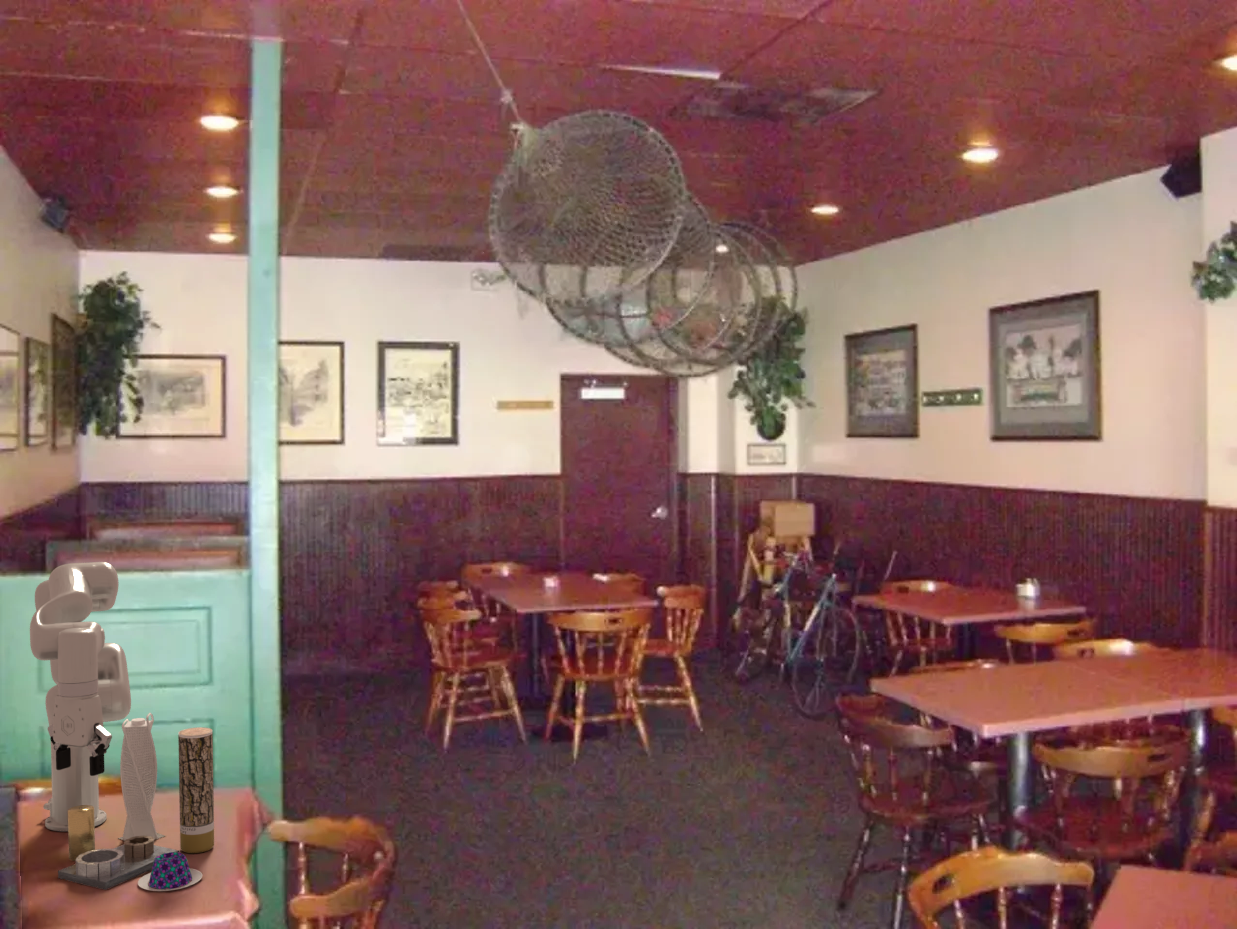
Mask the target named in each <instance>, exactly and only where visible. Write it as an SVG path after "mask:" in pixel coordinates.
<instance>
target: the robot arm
mask: <svg viewBox="0 0 1237 929" xmlns="http://www.w3.org/2000/svg"><path fill="white" fill-rule="evenodd" d="M119 584H120V583H119V576H118V572H117V570H116V569H115V567H114V566H113V565H112V564H111V563H108V562H107V561H96V562H76V563H75V562H73V563H65V564H61V565H59V566H57V567H56V568H54V569H53V570H52V571H51V573H50V575H49V576H48V579H46V580H44V581H42V582H40V583H39V584H38V585H37V587H36V589H35V591H34V604H35V605H34V606H35V612H34V614H33V615H32V617H31V619H30V620H31V621H30V624H29V641H30V644H29V645H30V651H31V653H32V655H33V657H35V659H37V660H39V661H50V662H49V663H50V664H49V665H50V671H51V672H50V673H51V678H52V680H53V682H54V683H55V685H54V686H52V687H51V688H49V689H48V691H47V692H46V695H45V703H44V704H45V710H46V716H47V721H48V726H47V732H48V734H49V737H50V738H49V739H50V759H51V760H50V766H51V795H52V796H51V798H49V799H48V801H47V802H46V803H44V804H43V810H47V811H49V816H48V817H47V818H46V819H45V820H44V826H45V828H46V829H48V830H50V831H54V832H68V809H70V808H72V807H75V806H80V805H91V806H93V807H94V828H95V827H97V826H100V825H102V824H103V823H104V822H105V821H106V820H107V812H106V811H104V810H103V809H100V802H99V798H100V797H99V796H100V792H99V775H101V774H104V772H105V754H106V753H107V750H108V749H109V748H110V744H111V741H112V739H113V735H112V734H111V733H110V732H109V731H108V730H106V728H104V723H109V722H116V721H120V720H123V719H125V718H127V716H128V715H130V712H131V709H132V698H131V697H132V696H131V687H130V679H129V671H128V670H129V669H128V664H127V663H128V662H127V657H126V654H125V651H124V648H123V647H122V646H121V645H120V644H118V643H114V642H106V636H105V630H104V628H102V626H101V625H100V623H98V622H96V621H85V620H86V619H87V618H89V616H90V615H91V613H93V612H105V611H109V610H111V609H112V608H113V607H114V606H115V604H116V601H117V596H118V594H119V593H118V592H119Z"/></svg>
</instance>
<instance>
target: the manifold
mask: <svg viewBox="0 0 1237 929" xmlns="http://www.w3.org/2000/svg"><path fill="white" fill-rule="evenodd" d="M123 842H124V844H122V845H119V846H115V847H113V848H97V849H95V850H92V851H88V852H85V853H83V854H80V855H79V856H78V857H77V858H76V861H75V864H71V865H69V866H67V867H65V868H64V867H63V868H62V869H59V870H58V871H57V874H58V875H57V879H59V878H60V879H59V880H63V879H65V880H64V881H67V880H68V882H71V881H72V883H76V884H81V885H85V886H89V887H92V888H97V889H100V890H104V891H106V890H108V889H111V888H113V887H116V886H118V885H119V884H122V883H125V882H127V881H129V880H132V879H134V878H136V877H138V876H140V875H143V874H146V873H148V872H151V871H152V867H153V862H154V859H155V858H156V857H157V856H160V855H161V854H164V853H170V852H176V853H178V852H179V853H180V850H178V849H173V848H169V847H164V846H160V845H155V840H154V837H151V836H135V837H131V838H129V839H126V840H125V841H123Z"/></svg>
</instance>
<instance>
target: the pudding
mask: <svg viewBox="0 0 1237 929" xmlns="http://www.w3.org/2000/svg"><path fill="white" fill-rule="evenodd" d="M202 878H203V873H202V872H201V871H200V870H198V869H195V868H190V865H189V863H188V859H187V856H186V854H184V853H182V852H180V851H179V852H178V853H176V852H170V853H164V854H161V855H160V856H157V857H156V858H155V859H154V862H153V867H152V870H150V872H149V873H147V874H144V875H143V876H142V877H140V878H139V879H138V880H137V885H138V886H139V888H141V889H144V890H147V891H153V892H167V891H175V890H176V891H177V890H180V889H184V888H188V887H191V886H192V885H195V884H197V883H199V881H200V880H201V879H202Z"/></svg>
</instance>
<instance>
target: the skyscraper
mask: <svg viewBox="0 0 1237 929" xmlns="http://www.w3.org/2000/svg"><path fill="white" fill-rule="evenodd" d="M149 717H150V719H151V720H149ZM154 721H155V718H154V715H153V714H152V712H149V713H148V714H147V715H146V717H145V718H144V717H137V718H136V717H135V718H132V719H131V720H129V718H126V719H125V720H124V721H123V722H122V724H121V729H122V732H123V739H122V743H121V744H122V745H121V746H122V747H121V752H120V762H119V763H120V764H119V766H120V767H119V768H120V769H119V771H120V774H119V775H120V785H121V792H122V799H123V803H124V808H125V811H126V812H125V813H126V820H125V824H124V828H123V829H124V830H123V832H122V836H120V837H117V839H118V840H119V839H121V840H120V841H122V840H123V842H125V840H126V839H129V838H131V837H135V836H151V837H154V841H156V840H159V838H160V839H163V838H165V836H166V835H164V834H162V833H159V832H157V829H156V826H155V823H154V820H153V816H152V813H151V812H152V807H153V805H154V800H155V796H156V788H157V780H158V759H157V752H156V747H155V743H154V740H153V739H154V738H153V735H152V729H153V725H154V723H155V722H154ZM162 837H163V838H162Z"/></svg>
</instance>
